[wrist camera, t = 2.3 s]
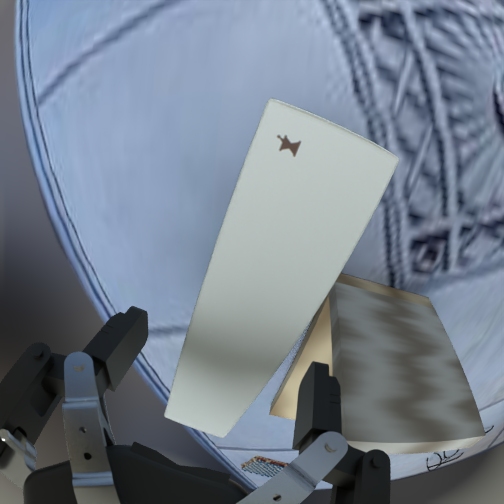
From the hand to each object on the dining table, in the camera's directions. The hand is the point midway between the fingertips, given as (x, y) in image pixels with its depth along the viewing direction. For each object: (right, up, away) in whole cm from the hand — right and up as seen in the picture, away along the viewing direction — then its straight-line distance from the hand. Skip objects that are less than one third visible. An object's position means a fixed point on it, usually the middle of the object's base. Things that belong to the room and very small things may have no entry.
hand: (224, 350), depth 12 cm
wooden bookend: (+13, -10, +20) cm, 26 cm away
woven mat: (+5, -46, +40) cm, 61 cm away
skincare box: (+3, +7, +14) cm, 16 cm away
